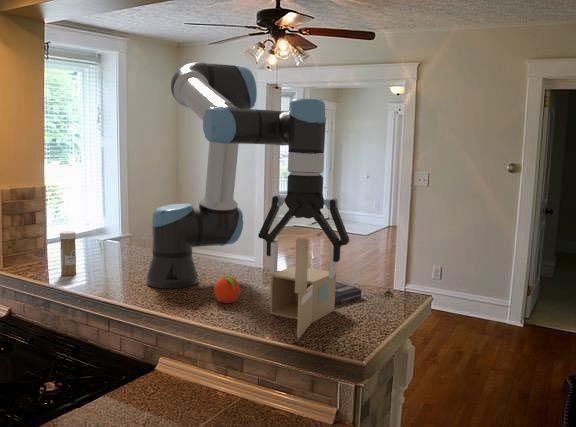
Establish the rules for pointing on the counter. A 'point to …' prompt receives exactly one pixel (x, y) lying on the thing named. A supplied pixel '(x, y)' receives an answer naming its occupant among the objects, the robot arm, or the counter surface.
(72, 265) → the sprinkles bottle
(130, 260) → the counter surface
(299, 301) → the tan tapered piece
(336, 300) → the box
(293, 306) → the carton
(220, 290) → the clementine
